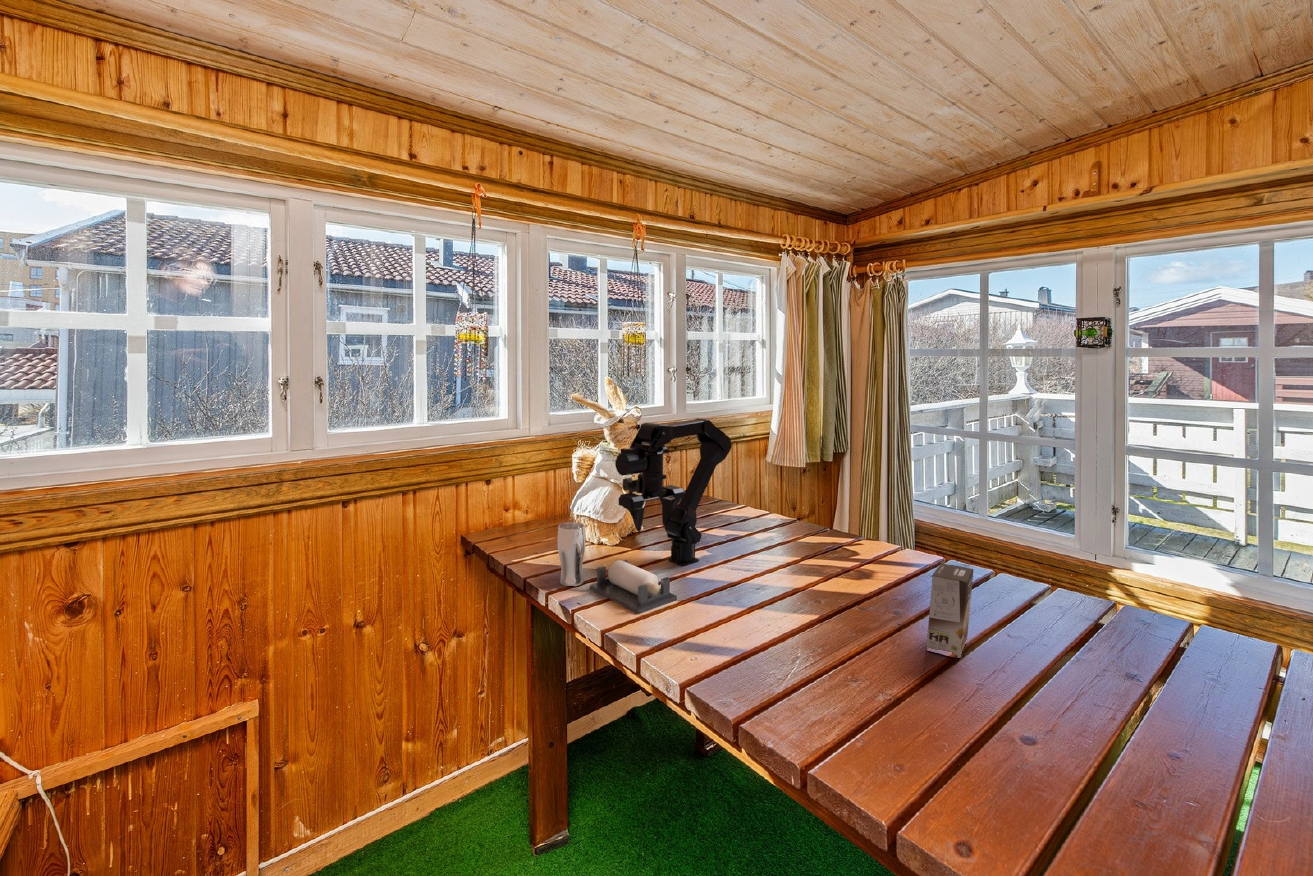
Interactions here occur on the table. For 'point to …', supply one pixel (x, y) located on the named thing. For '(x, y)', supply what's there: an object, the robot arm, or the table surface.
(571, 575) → the beer glass
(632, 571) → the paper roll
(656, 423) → the robot arm
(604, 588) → the roll stand
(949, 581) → the coffee box
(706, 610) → the table surface
